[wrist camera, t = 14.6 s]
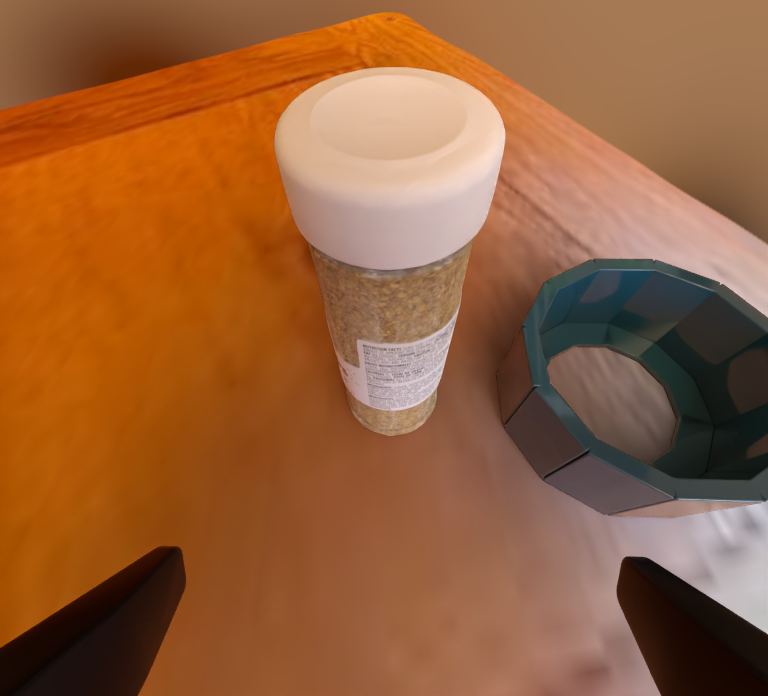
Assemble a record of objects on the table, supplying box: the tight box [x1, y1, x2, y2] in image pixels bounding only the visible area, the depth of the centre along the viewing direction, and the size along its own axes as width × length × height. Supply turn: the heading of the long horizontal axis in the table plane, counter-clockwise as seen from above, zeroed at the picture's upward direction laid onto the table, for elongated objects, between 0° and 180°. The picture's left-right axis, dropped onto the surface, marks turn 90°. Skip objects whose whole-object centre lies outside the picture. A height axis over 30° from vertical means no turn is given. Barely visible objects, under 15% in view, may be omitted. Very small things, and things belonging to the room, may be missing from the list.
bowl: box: [496, 259, 768, 518], centre depth 16 cm, size 10×10×4 cm
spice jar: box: [274, 67, 505, 436], centre depth 13 cm, size 5×5×14 cm
